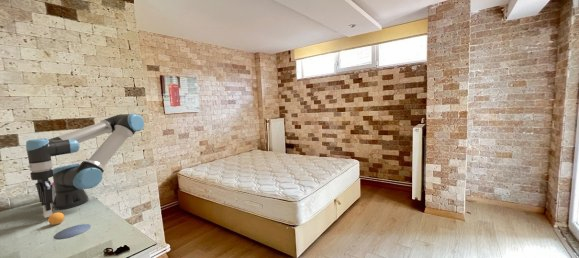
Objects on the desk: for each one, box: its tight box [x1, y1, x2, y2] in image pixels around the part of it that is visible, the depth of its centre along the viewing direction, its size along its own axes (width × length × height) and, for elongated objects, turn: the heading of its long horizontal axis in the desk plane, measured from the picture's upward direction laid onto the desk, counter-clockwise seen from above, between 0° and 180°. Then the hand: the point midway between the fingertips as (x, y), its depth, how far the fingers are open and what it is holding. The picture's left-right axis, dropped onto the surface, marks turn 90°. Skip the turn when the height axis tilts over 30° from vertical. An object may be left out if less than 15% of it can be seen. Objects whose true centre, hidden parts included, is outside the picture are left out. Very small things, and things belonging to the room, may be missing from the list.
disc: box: [53, 223, 92, 240], centre depth 103 cm, size 12×12×1 cm
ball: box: [47, 212, 65, 226], centre depth 111 cm, size 6×6×6 cm
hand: (48, 216), depth 115 cm, fingers closed
